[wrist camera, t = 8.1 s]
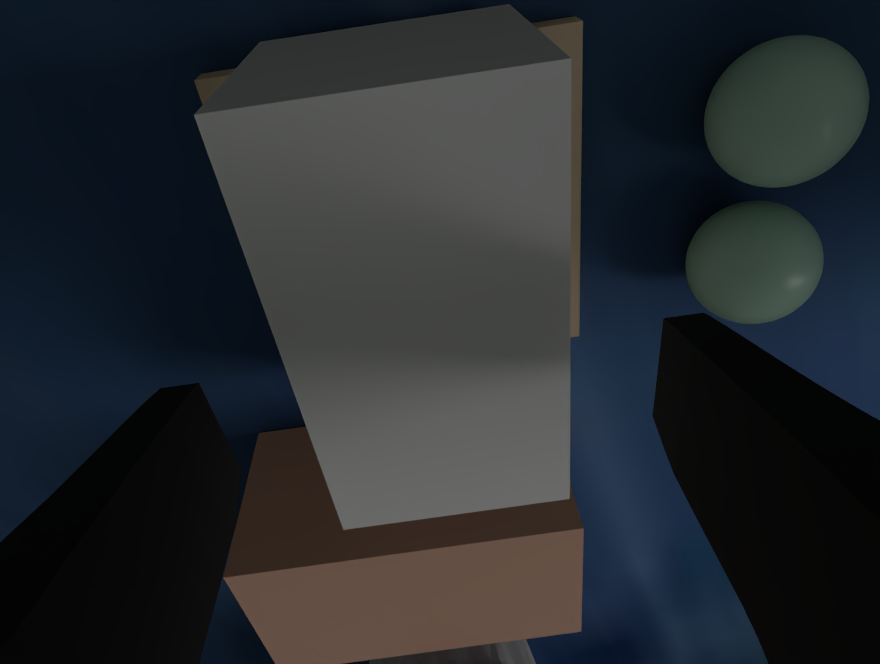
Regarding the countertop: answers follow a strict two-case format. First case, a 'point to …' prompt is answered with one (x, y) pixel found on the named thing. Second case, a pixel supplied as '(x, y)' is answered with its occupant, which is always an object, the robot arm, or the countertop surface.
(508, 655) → the cupcake
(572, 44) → the coaster
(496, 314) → the block
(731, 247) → the marble
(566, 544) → the tan cardboard brick
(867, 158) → the countertop surface
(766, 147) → the marble
